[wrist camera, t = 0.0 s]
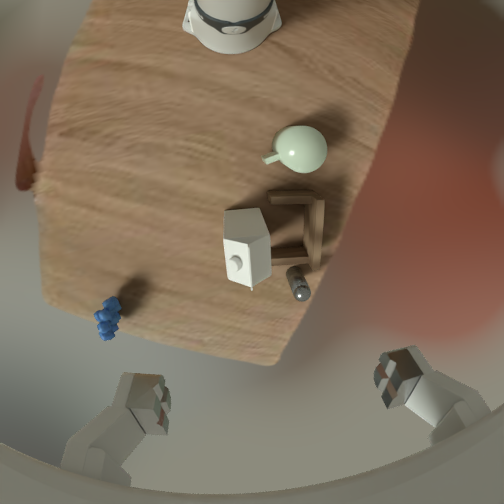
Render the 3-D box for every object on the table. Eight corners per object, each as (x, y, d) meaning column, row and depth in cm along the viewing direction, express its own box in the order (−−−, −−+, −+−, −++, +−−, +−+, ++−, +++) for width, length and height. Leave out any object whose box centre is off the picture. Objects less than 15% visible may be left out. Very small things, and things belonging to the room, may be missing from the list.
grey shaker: (286, 266, 62) (295, 290, 54) (301, 265, 63) (313, 289, 54) (285, 280, 64) (294, 305, 55) (300, 279, 64) (311, 304, 55)
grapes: (101, 280, 60) (82, 309, 49) (126, 287, 61) (110, 318, 51) (102, 317, 65) (86, 348, 54) (125, 323, 66) (112, 355, 55)
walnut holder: (267, 190, 55) (273, 201, 48) (312, 190, 55) (324, 200, 48) (267, 255, 61) (273, 273, 54) (309, 252, 61) (319, 269, 54)
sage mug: (253, 138, 50) (258, 140, 42) (304, 120, 49) (318, 119, 41) (267, 176, 54) (275, 185, 46) (317, 158, 53) (333, 164, 45)
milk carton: (259, 207, 56) (274, 244, 39) (261, 239, 59) (275, 288, 42) (224, 210, 56) (222, 249, 39) (227, 242, 59) (228, 293, 42)
